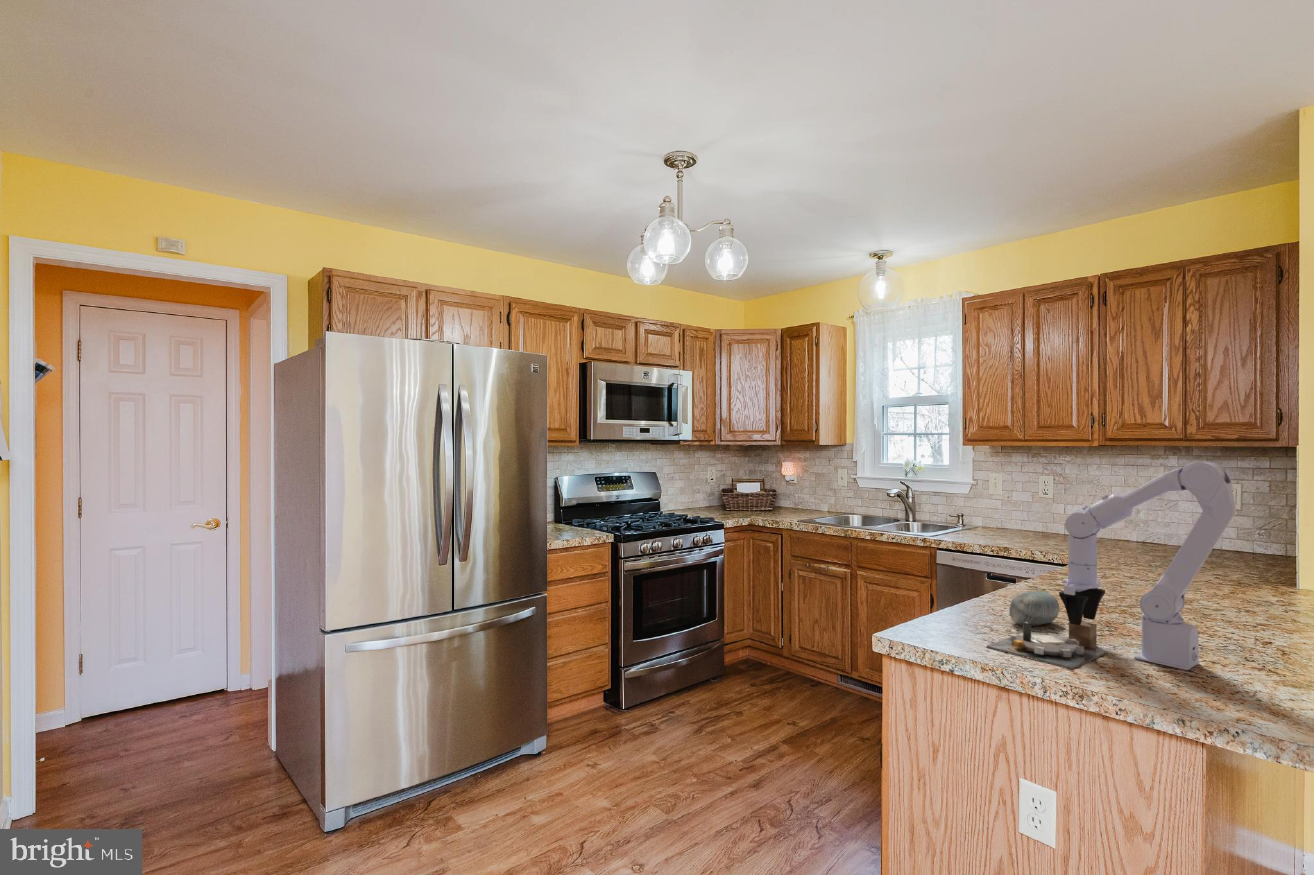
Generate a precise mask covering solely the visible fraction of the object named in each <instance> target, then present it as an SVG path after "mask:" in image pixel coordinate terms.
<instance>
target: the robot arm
mask: <svg viewBox="0 0 1314 875" xmlns="http://www.w3.org/2000/svg"><path fill="white" fill-rule="evenodd" d="M1232 481H1233V480H1232V479H1231V477H1230V475H1229V474H1228V473H1227V471H1226V470H1225V469H1224V467H1223V466H1222V465H1220V464H1218V463H1216V462H1214V461H1208V460H1206V461H1199V462H1198V461H1197V462H1196V461H1195V462H1191V463H1189V464H1187V465H1185V466H1184V467H1179V468H1177V469H1174V470H1171V471H1168V472H1165V473H1163V474H1161V475H1159V476H1157V477H1156V478H1153V479H1152V480H1150V481H1148V482H1147V483H1144V484H1143V485H1141V486H1139V487H1138V488H1135V489H1134V490H1132V491H1130V492H1128V493H1127V494H1125V495H1121V494H1115V493H1113V494H1111V495H1110V494H1105V495H1103V496H1101V500H1099V501H1097V502H1095V503H1093V504H1092V505H1089V506H1088V505H1084V506H1083V507H1082V508H1081V509H1082V511H1080V512H1079V511H1078V512H1072V513H1071V514H1070V515H1069V516H1068V517H1067V518H1066V519H1065V520H1064V521H1065V522H1064V527H1065V530H1066V531H1067V533H1068V543H1067V551H1068V552H1067V567H1068V568H1067V578H1063V579H1062V583H1063V584H1064V583H1065V584H1064V585H1063V586H1064V587H1063V590H1062V591H1061V590H1060V591H1059V592H1058V596H1059V598H1060V600H1061V601H1062V603H1063V605H1064V609H1065V610H1066V615H1067V618H1068V623H1069V622H1070V624H1075V625H1081V622H1083V619H1086V620H1091V621H1094V620H1095V619H1096V615H1097V612H1098V608H1099V606H1100V602H1101V601H1102V599H1103V597H1104V596H1105V594H1106V590H1105V589H1103V588H1100V587H1101V581H1100V580H1101V579H1100V578H1098V542H1097V538H1098V535H1097V534H1098V533H1099V532H1100V531H1101V530H1106V528H1108V527H1111V526H1113V525H1115V524H1117V523H1119V522H1121V521H1124V520H1125V519H1127V518H1129V517H1131V516H1132V512H1133V509H1134V508H1135V507H1137V506H1140V505H1142V504H1144V503H1146V502H1148V501H1151V500H1153V499H1155V498H1157V497H1159V496H1161V495H1164V494H1166V493H1168V492H1176V491H1177V492H1179V491H1180V492H1181V491H1189V493H1191V495H1193V496H1194V497H1195V498H1196V500H1197V503H1198V505H1199V506H1200V508H1201V510H1202V512H1201V514H1200V515H1199V516H1198V519H1197V520H1196V521H1195V524H1193V527H1192V529H1191V530H1190V531H1189V533H1188V535H1187V536H1186V538H1185V540H1184V541H1183V543H1181V546H1180V547H1179V549H1178V551H1177V552H1176V554H1175V556H1174V557H1173V559H1172V560H1171V562H1170V563H1169V565H1168V567H1167V568H1166V571H1165V572H1164V573H1163V575H1162V576H1161V577H1160V579H1159V580H1158V581H1157V583H1155V585H1154V587H1153V588H1152V589H1150V590H1149V591H1147V592H1145V593H1144V594H1142V595H1141V597H1140V599H1139V608H1140V611H1141V612H1142V613H1141V652H1140V653H1138V654H1135V655H1134V659H1136V660H1140V661H1144V662H1149V663H1153V664H1156V665H1157V664H1158V665H1162V666H1167V667H1171V668H1175V669H1180V670H1183V671H1184V670H1185V671H1189V670H1190V669H1192V668H1194V667H1196V666H1197V665H1199V664H1200V661H1199V630H1198V628H1197V626H1196V625H1194V624H1190V623H1189V624H1188V623H1186V622H1184V617H1182V615H1181V613H1180V612H1181V611H1182V610H1184V606H1185V604H1186V603H1185V602H1186V601H1185V598H1186V597H1185V596H1186V594H1187V592H1188V590H1189V588H1190V585H1191V584H1192V582H1193V580H1194V579H1195V577H1196V576H1197V574H1198V572H1200V569H1201V568H1202V567H1203V565H1204V563H1205V561H1206V560H1207V558H1208V557H1209V555H1210V554H1211V552H1212V550H1213V549H1214V547H1215V546H1216V545H1217V543H1218V541H1219V540H1220V539H1221V536H1222V535H1223V533H1224V532H1225V530H1226V529H1227V527H1228V525H1229V524H1230V523H1231V521H1232V519H1233V518H1234V516H1235V515H1236V511H1237V508H1236V503H1235V498H1234V493H1233V492H1234V491H1233V486H1232V484H1233V482H1232Z"/></svg>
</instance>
